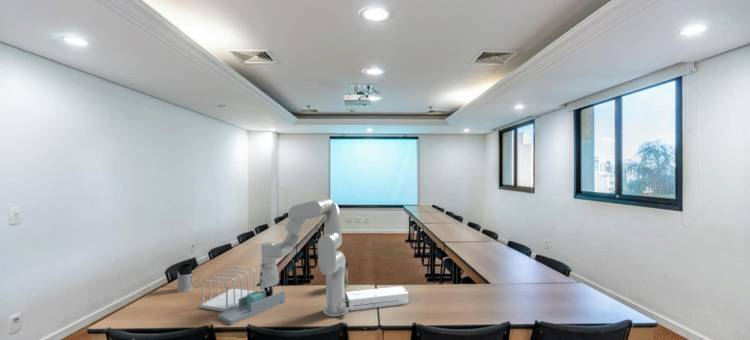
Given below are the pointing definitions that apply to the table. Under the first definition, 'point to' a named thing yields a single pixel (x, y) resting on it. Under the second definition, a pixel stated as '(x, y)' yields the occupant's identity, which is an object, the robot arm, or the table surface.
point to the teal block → (254, 297)
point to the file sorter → (227, 293)
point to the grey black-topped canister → (185, 277)
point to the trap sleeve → (251, 307)
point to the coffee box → (346, 275)
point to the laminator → (376, 298)
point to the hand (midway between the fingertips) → (269, 297)
